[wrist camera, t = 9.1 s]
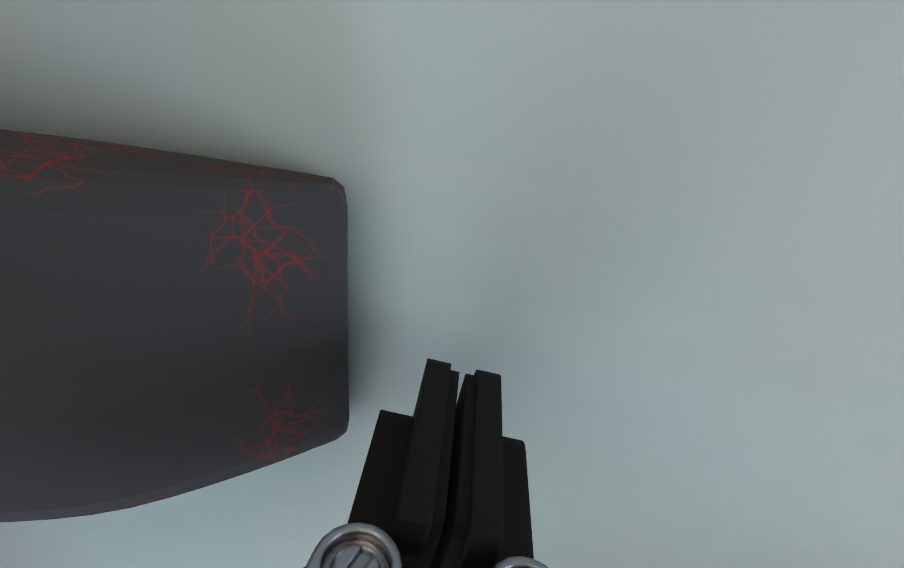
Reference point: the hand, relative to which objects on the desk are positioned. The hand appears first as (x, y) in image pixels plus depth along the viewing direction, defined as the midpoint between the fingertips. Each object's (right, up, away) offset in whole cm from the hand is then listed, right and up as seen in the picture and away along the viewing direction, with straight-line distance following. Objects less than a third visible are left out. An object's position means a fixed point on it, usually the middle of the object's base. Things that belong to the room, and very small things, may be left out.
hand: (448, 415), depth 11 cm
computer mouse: (-9, +3, 0) cm, 9 cm away
